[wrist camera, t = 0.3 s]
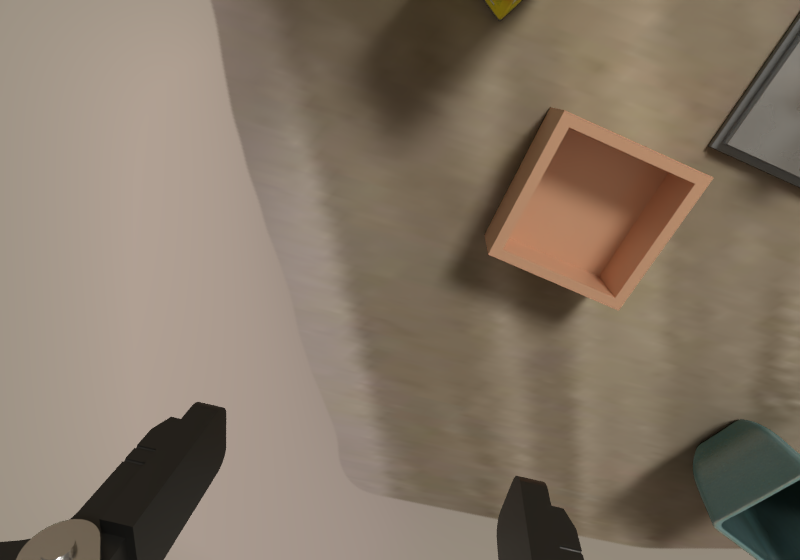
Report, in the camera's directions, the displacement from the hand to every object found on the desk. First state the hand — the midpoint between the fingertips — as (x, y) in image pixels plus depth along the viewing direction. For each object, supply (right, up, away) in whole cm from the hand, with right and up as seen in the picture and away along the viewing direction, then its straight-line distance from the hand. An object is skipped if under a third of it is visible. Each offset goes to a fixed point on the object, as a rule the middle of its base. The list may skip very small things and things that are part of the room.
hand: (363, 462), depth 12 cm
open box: (+15, +11, +24) cm, 31 cm away
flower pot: (+34, -11, +32) cm, 48 cm away
